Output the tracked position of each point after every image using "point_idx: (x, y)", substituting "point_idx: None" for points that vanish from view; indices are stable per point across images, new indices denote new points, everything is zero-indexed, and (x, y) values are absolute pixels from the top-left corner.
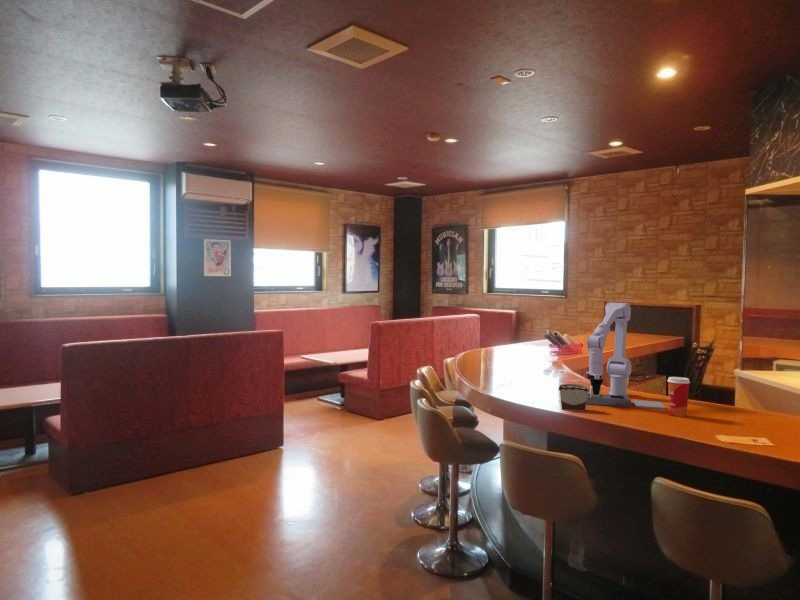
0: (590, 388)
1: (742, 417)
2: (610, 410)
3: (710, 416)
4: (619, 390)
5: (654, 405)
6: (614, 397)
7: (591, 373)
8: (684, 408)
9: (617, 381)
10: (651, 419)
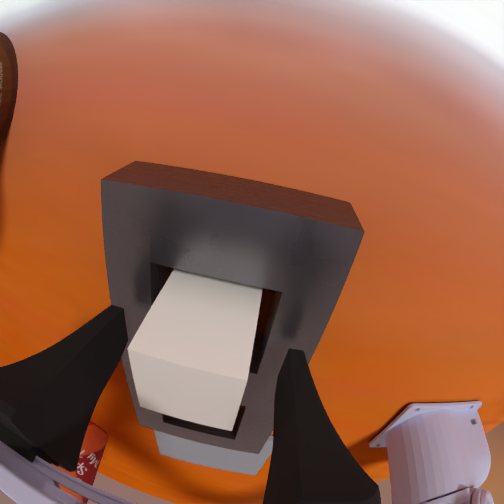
0: (222, 350)
1: (139, 479)
2: (36, 289)
3: (119, 459)
4: (393, 452)
5: (185, 450)
6: (243, 410)
7: (5, 489)
8: None
9: (406, 489)
10: (5, 350)
